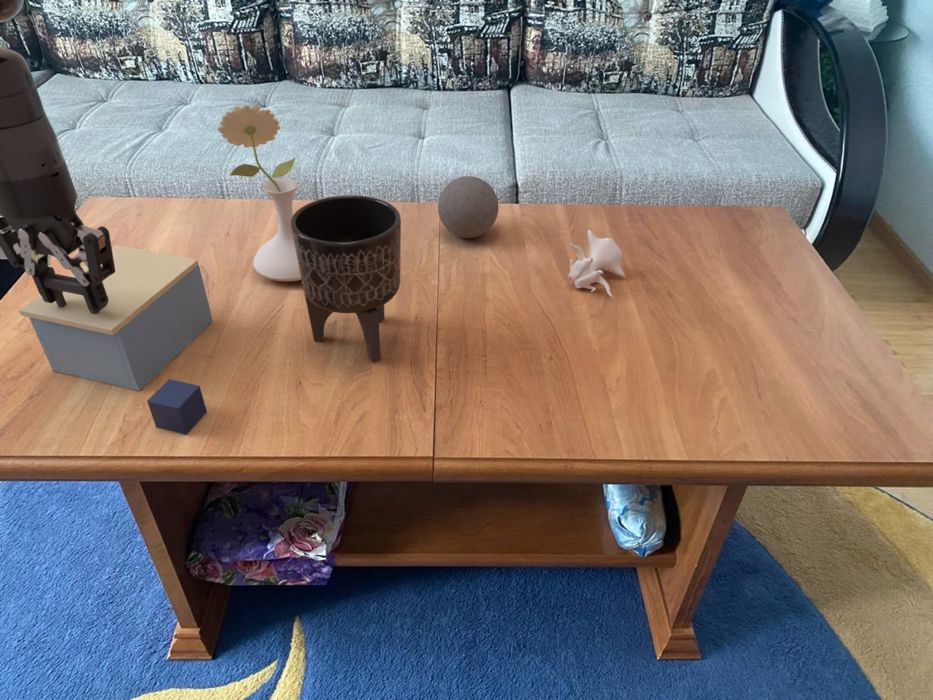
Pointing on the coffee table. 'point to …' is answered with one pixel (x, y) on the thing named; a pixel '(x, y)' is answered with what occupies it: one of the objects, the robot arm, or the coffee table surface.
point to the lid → (112, 290)
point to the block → (177, 406)
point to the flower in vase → (266, 189)
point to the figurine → (595, 263)
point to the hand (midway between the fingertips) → (76, 303)
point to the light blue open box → (131, 338)
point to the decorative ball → (468, 207)
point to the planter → (348, 261)
